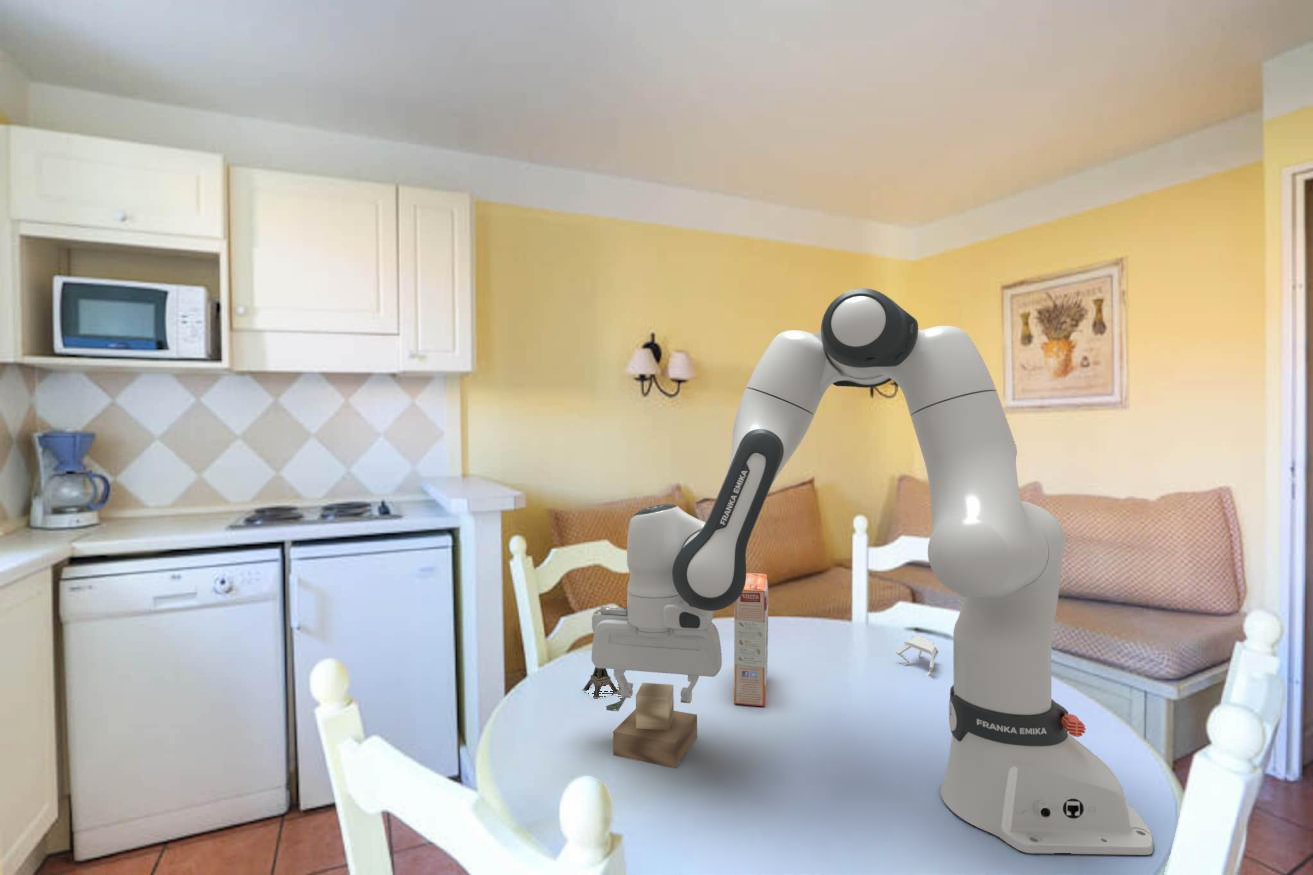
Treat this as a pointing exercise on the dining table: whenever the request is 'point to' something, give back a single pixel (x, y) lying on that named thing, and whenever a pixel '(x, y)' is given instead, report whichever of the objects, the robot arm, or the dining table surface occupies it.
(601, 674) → the eiffel tower figurine
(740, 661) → the cracker box
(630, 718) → the walnut block
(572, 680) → the dining table surface
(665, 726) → the maple cube
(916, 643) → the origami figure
